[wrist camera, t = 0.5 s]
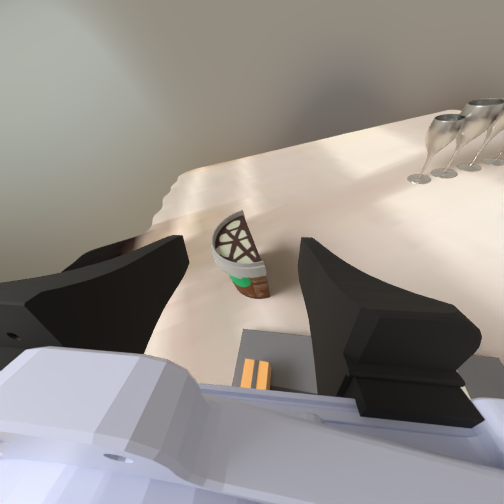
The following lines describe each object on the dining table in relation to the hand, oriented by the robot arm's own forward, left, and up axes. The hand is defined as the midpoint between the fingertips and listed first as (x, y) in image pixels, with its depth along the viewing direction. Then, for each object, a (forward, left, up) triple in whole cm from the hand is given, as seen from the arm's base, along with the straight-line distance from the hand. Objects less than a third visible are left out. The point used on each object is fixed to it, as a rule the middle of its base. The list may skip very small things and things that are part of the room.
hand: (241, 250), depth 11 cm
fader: (-5, +1, -16) cm, 17 cm away
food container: (+10, +6, -18) cm, 22 cm away
